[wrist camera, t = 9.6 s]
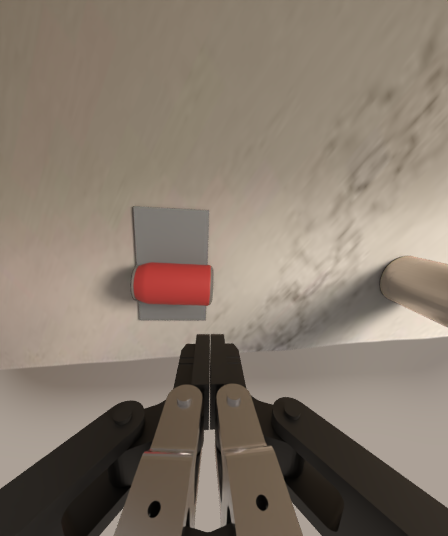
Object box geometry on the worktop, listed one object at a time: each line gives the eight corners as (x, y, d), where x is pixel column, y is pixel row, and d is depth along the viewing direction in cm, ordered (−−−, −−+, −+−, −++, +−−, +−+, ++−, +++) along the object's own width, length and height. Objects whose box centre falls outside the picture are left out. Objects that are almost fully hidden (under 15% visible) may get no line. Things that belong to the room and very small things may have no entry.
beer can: (214, 260, 32) (132, 256, 31) (212, 304, 30) (126, 301, 29) (211, 270, 38) (144, 267, 37) (210, 306, 37) (139, 304, 36)
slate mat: (209, 210, 35) (209, 210, 34) (205, 319, 40) (205, 320, 40) (134, 206, 34) (133, 206, 33) (140, 319, 39) (139, 320, 38)
